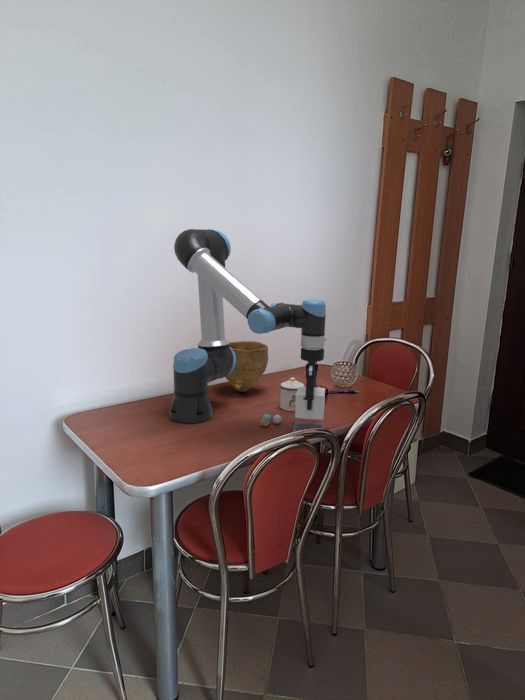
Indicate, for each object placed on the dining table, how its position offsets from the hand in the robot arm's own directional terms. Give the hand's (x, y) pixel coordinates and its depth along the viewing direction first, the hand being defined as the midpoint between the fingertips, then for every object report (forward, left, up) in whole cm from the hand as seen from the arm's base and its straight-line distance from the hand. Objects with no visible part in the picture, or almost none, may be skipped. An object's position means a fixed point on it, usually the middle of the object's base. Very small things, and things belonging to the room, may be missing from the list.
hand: (310, 413), depth 169 cm
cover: (0, 0, 0) cm, 0 cm away
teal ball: (-15, +3, -6) cm, 16 cm away
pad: (0, 0, -6) cm, 6 cm away
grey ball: (-11, +3, -6) cm, 13 cm away
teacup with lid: (-7, +21, -6) cm, 23 cm away
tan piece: (-30, +35, -6) cm, 47 cm away
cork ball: (-15, -1, -6) cm, 16 cm away
